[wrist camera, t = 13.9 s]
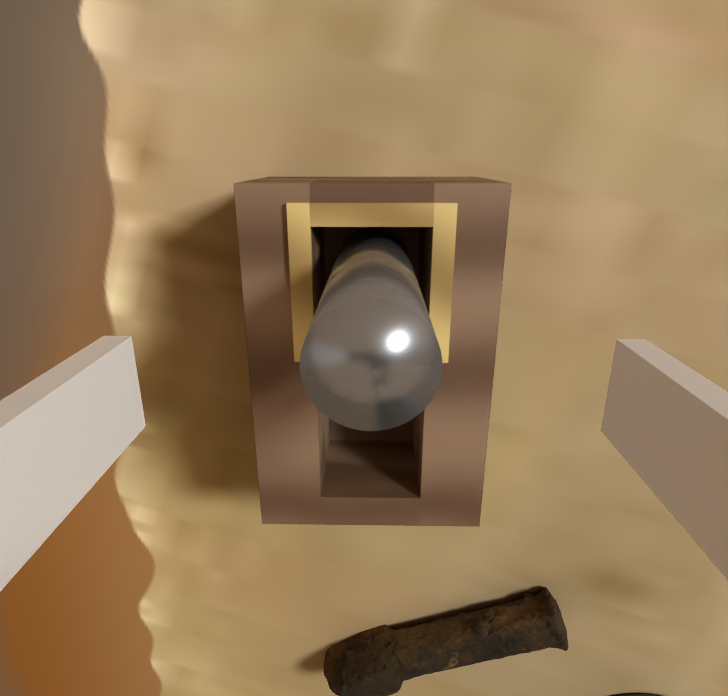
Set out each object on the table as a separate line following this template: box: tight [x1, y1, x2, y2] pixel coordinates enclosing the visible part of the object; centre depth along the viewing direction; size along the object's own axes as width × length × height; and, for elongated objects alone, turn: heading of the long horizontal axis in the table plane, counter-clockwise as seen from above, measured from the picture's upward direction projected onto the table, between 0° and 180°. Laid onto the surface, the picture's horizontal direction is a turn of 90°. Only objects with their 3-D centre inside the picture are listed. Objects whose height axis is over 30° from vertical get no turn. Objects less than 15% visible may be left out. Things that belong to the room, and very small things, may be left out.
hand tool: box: [324, 587, 568, 696], centre depth 40 cm, size 19×4×5 cm, turn 106°
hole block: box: [234, 177, 512, 526], centre depth 29 cm, size 18×12×8 cm, turn 0°
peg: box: [300, 227, 443, 431], centre depth 22 cm, size 4×4×16 cm
